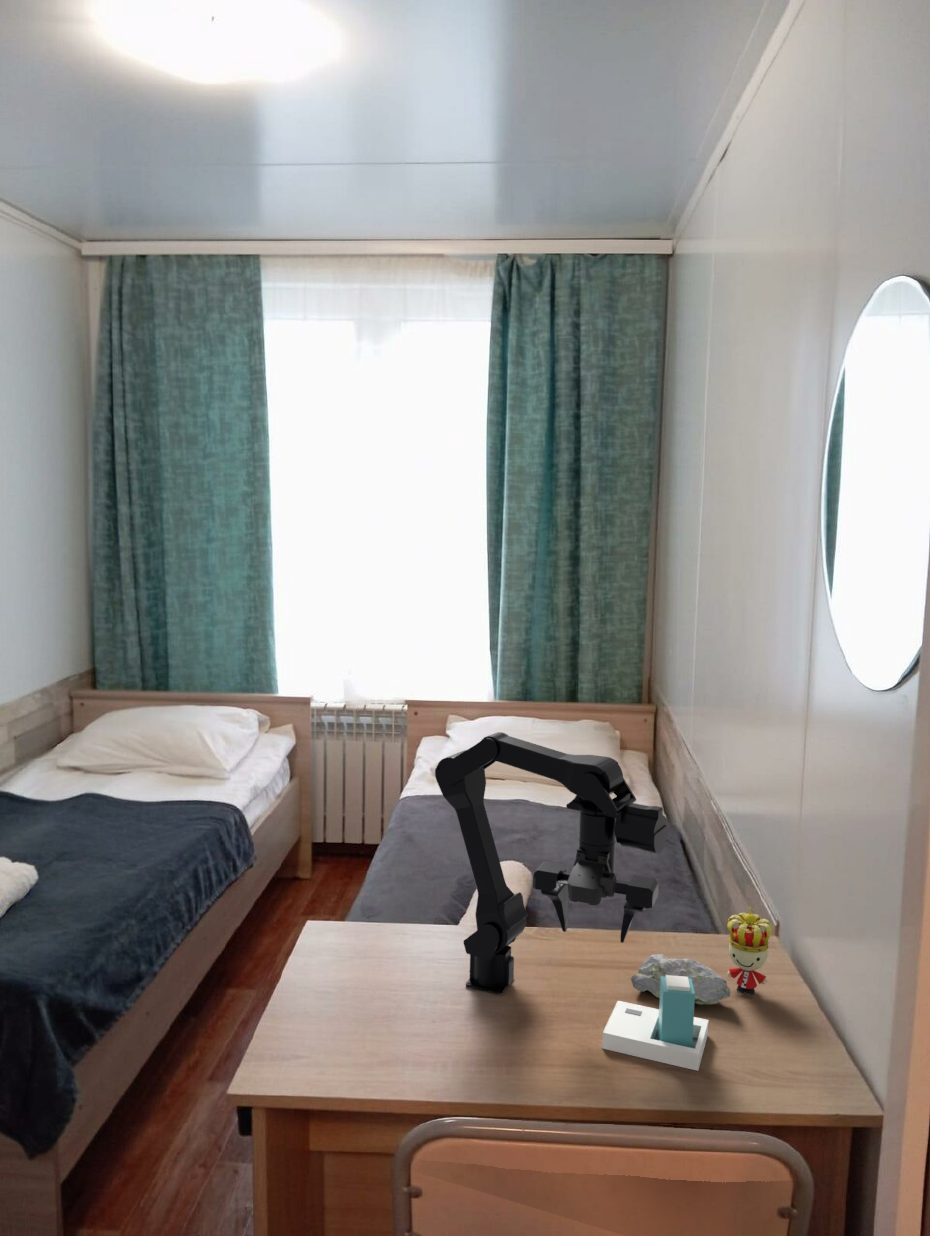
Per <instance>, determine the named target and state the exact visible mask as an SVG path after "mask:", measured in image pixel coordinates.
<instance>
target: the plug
mask: <svg viewBox="0 0 930 1236" xmlns="http://www.w3.org/2000/svg"><path fill="white" fill-rule="evenodd" d="M695 1004H696V1003H695V992H694V988H693V984H692V979H689V978H688V977H685V976H672V975H666V977H663V976H661V981H660V998H659V1006H658V1009H659V1022H658V1040H659V1041H663V1042H668V1043H672V1044H676V1045H681V1046H685V1047H690V1048H692V1040H693V1021H694V1017H695Z"/></svg>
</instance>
